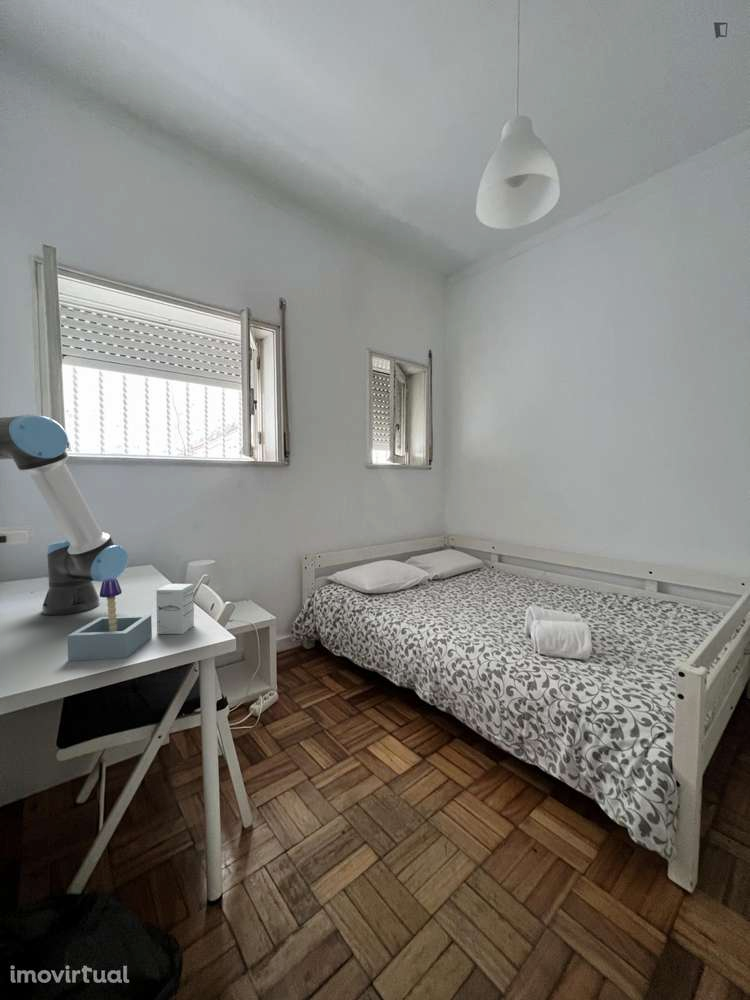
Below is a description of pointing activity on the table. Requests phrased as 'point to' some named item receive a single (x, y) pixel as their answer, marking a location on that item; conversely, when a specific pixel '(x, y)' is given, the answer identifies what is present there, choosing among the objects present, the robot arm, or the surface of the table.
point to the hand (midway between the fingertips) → (30, 533)
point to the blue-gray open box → (109, 638)
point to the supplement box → (175, 608)
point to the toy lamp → (111, 599)
